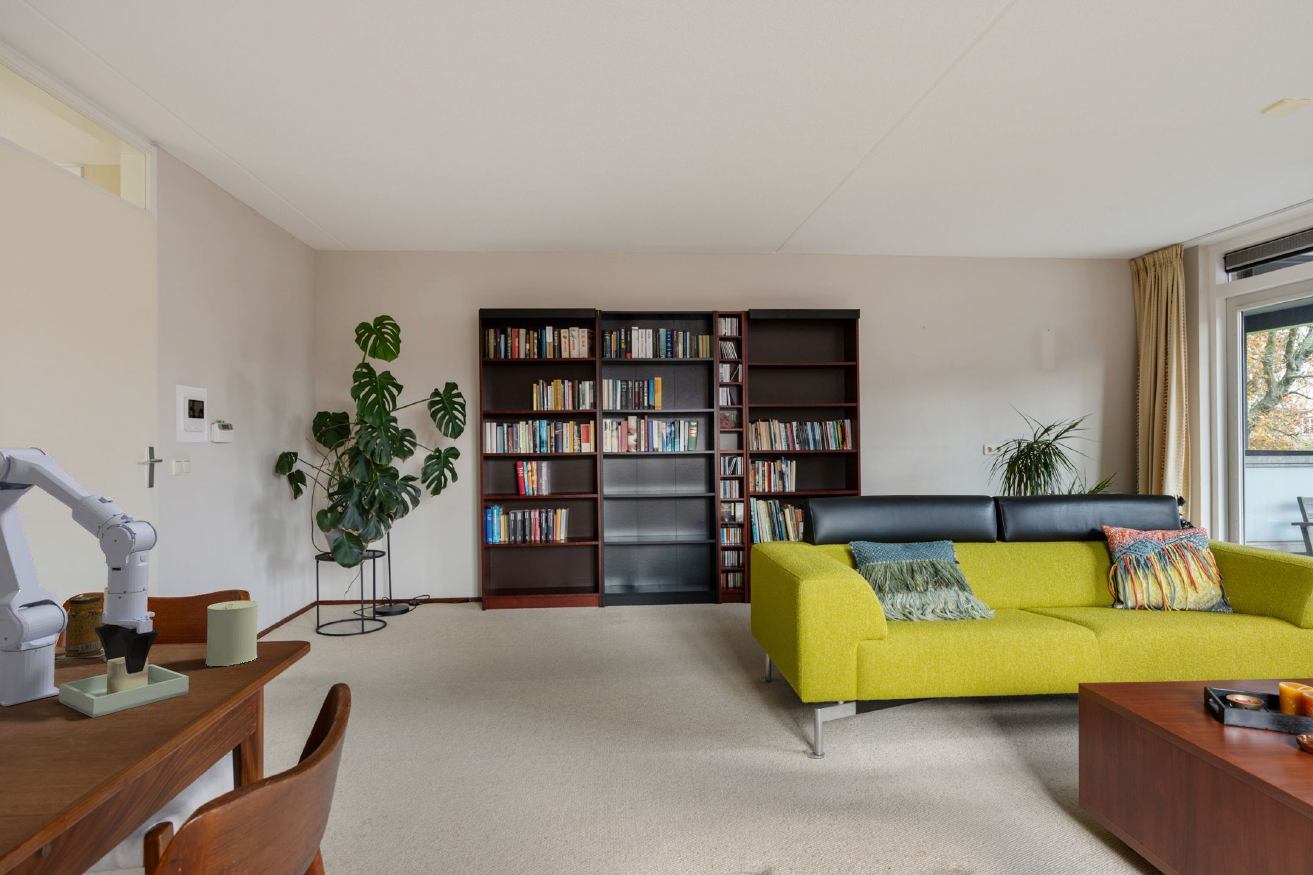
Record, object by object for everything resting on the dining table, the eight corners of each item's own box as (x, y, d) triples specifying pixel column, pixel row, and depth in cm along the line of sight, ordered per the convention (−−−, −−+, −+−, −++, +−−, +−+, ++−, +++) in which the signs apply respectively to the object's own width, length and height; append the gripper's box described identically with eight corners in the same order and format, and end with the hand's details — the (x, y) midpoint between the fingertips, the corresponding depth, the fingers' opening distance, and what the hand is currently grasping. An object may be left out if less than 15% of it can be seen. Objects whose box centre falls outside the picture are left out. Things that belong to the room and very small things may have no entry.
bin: (58, 701, 120) (59, 684, 120) (151, 680, 132) (152, 664, 132) (93, 717, 113) (93, 698, 113) (188, 693, 125) (188, 676, 125)
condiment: (78, 650, 153) (80, 594, 153) (119, 649, 154) (121, 594, 154) (53, 659, 146) (54, 601, 146) (96, 658, 147) (98, 600, 147)
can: (200, 669, 139) (202, 608, 140) (211, 656, 148) (212, 599, 148) (253, 664, 143) (254, 605, 143) (260, 652, 151) (261, 596, 152)
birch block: (106, 694, 122) (107, 660, 122) (135, 687, 126) (136, 654, 126) (117, 699, 120) (119, 663, 120) (147, 692, 124) (148, 657, 124)
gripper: (173, 591, 123) (170, 669, 122) (135, 583, 130) (133, 656, 130) (125, 598, 117) (123, 680, 116) (89, 589, 124) (86, 666, 124)
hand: (125, 668), depth 123 cm, fingers open, 7 cm apart
